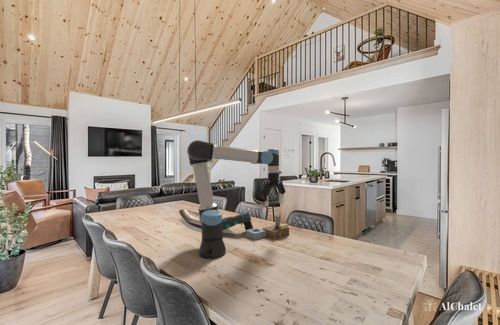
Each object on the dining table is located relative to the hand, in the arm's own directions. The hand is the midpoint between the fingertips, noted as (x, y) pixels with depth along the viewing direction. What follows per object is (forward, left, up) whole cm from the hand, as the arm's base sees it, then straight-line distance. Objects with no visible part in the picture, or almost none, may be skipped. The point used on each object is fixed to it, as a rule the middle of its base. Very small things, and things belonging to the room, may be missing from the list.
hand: (274, 204), depth 160 cm
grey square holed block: (-6, +12, -23) cm, 26 cm away
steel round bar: (+8, +5, -23) cm, 24 cm away
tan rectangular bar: (+9, 0, -17) cm, 19 cm away
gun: (-13, +31, -23) cm, 41 cm away
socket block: (+6, +5, -23) cm, 24 cm away
